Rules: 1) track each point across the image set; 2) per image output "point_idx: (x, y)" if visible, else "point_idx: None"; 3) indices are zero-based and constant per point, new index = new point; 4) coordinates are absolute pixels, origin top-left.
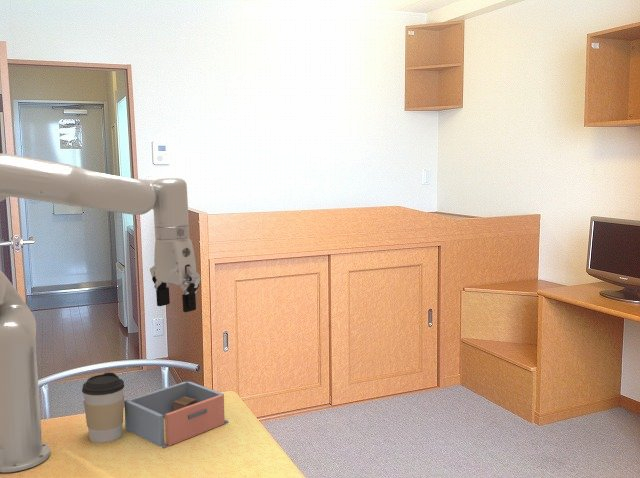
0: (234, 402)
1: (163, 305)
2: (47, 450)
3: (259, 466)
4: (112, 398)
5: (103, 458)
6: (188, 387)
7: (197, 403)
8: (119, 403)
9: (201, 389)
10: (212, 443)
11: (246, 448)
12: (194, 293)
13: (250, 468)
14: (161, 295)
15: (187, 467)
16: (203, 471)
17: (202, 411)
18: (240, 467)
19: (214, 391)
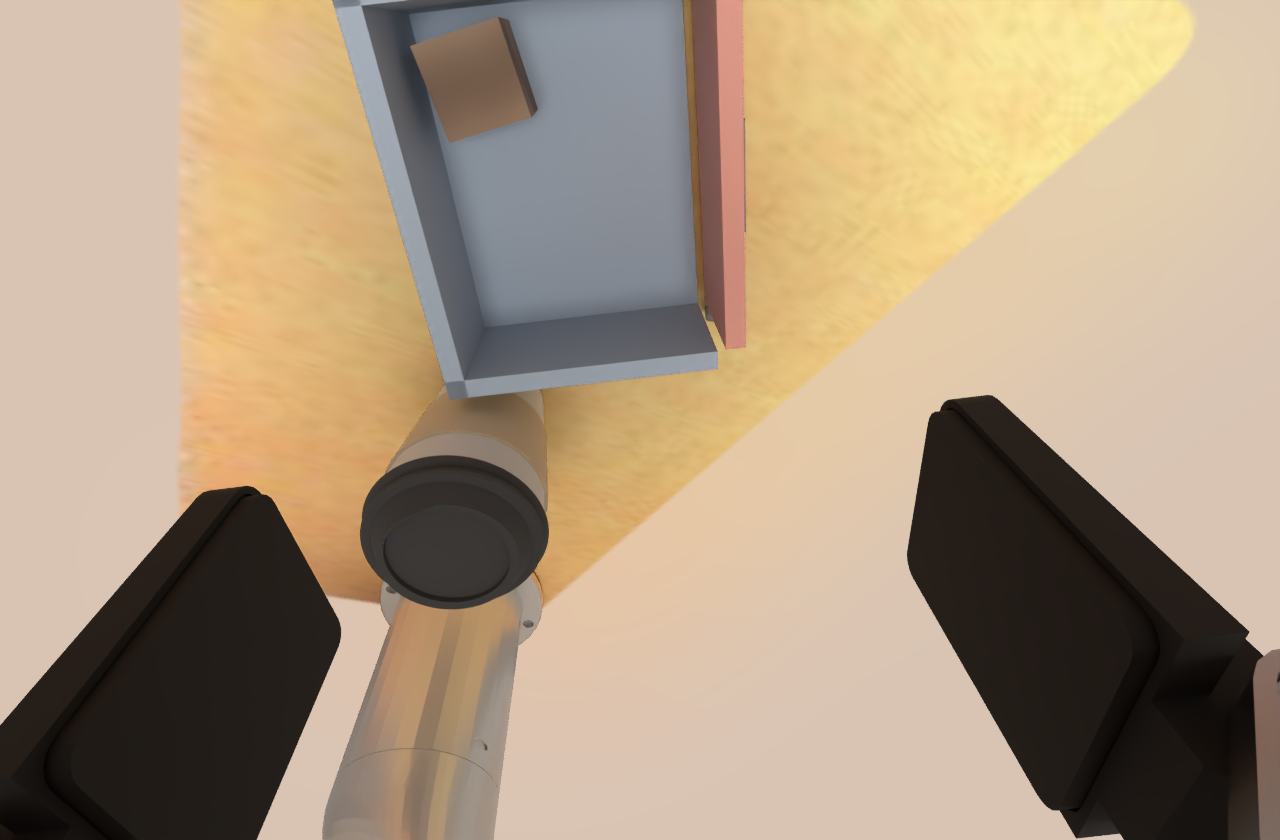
0: None
1: (300, 567)
2: None
3: (1069, 105)
4: (543, 508)
5: (610, 453)
6: (384, 5)
7: (730, 172)
8: (536, 462)
9: None
10: (782, 127)
11: (930, 41)
12: (1213, 627)
13: (1048, 142)
14: (253, 752)
15: (857, 301)
16: (920, 277)
17: (744, 149)
18: (1011, 166)
19: None
